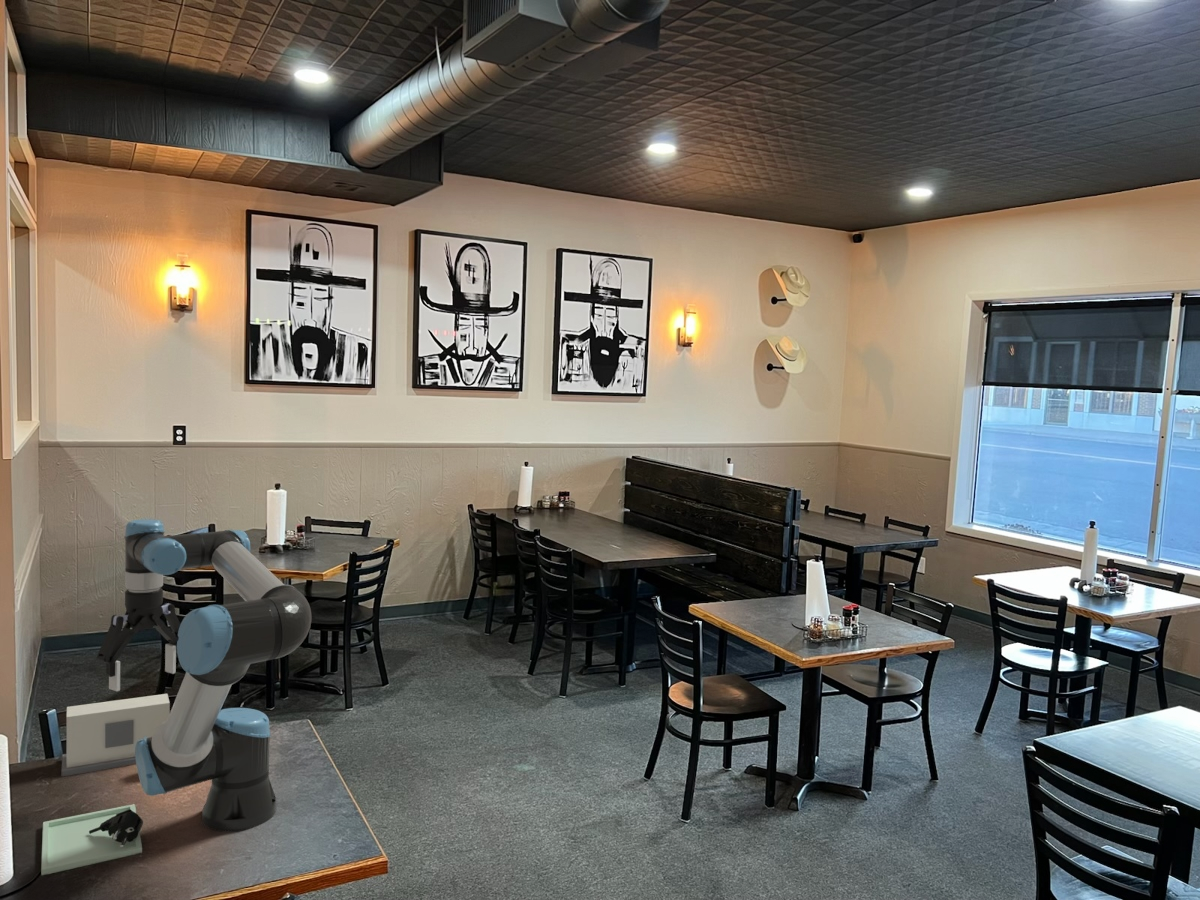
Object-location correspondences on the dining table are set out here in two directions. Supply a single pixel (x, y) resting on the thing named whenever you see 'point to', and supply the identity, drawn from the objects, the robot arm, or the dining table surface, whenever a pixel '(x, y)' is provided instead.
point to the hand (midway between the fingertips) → (143, 680)
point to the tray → (82, 841)
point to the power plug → (122, 827)
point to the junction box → (110, 732)
